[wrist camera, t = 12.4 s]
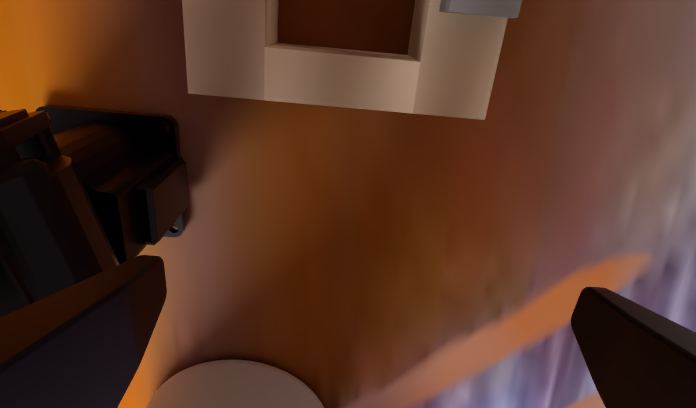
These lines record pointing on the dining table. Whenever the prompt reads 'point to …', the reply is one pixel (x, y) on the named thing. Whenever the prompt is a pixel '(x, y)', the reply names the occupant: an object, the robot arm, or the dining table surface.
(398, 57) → the socket board
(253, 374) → the cylinder vase
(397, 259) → the dining table surface
